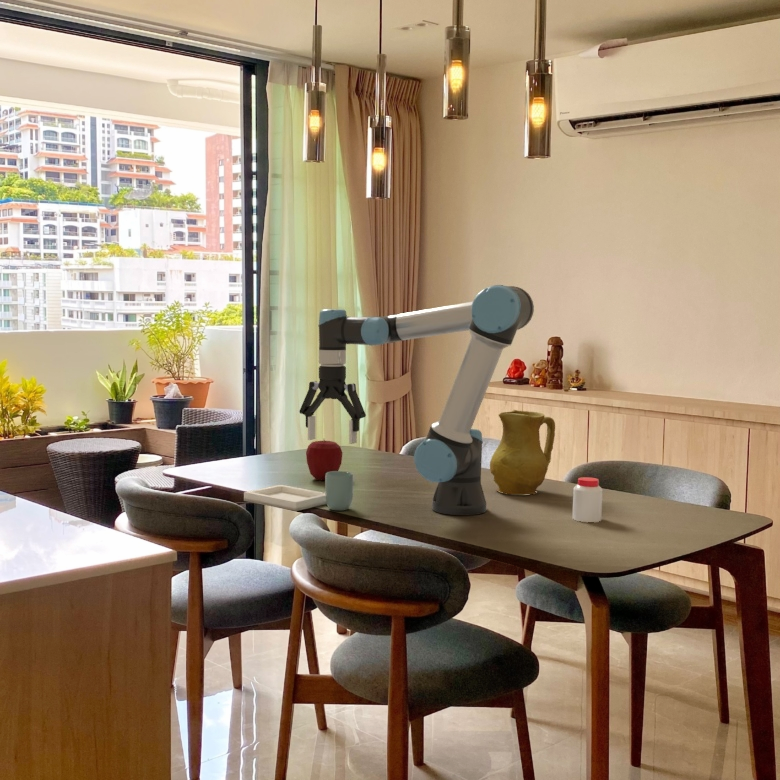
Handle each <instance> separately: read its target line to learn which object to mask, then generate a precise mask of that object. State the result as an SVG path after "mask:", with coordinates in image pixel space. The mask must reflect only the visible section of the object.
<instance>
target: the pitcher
mask: <svg viewBox="0 0 780 780" xmlns="http://www.w3.org/2000/svg"><path fill="white" fill-rule="evenodd" d="M498 417H499V418H500V421H501V424H502V435H501V438H500V442H499V444H498V445H497V447H496V448H495V450H494V452H493V454H492V456H491V459H490V462H489V471H490V473H491V475H493V482H495V484H496V485H497V486H498V489H497V490H498V491H500V492H503V493H507V494H506V495H508V494H533V493H536V492H535V491H537V489H538V488H539V487H540V486H541V485H542V484H543V482H544V481H545V478H546V474H547V472H548V469H549V464H550V463H551V460H552V451H553V449H554V443H555V442H554V441H555V436H556V435H555V434H556V433H555V431H556V422H555V420H554V418H552V417H550V416H545V414H544V413H542V412H537V411H529V410H518V409H513V410H511V411H503V412H500V413H499V414H498ZM543 424H545V425H546V438H545V444H544V450H543V449H542V447H541V440H540V438H541V437H540V429H541V426H543ZM536 494H537V493H536ZM533 495H534V494H533Z"/></svg>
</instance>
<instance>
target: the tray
mask: <svg viewBox="0 0 780 780" xmlns="http://www.w3.org/2000/svg"><path fill="white" fill-rule="evenodd" d="M243 502H248V503H254V504H257V505H258V504H259V505H263V506H268V507H272V508H278V509H283V510H288V511H294V512H298V511H299V512H300V511H302V510H307V509H311V508H315V507H320V506H325V505H327V503H326V496H325V492H321V491H317V490H312V489H306V488H300V487H295V486H289V485H285V484H278V485H272V486H269V487H263V488H258V489H252V490H248V491H244V492H243Z"/></svg>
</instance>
